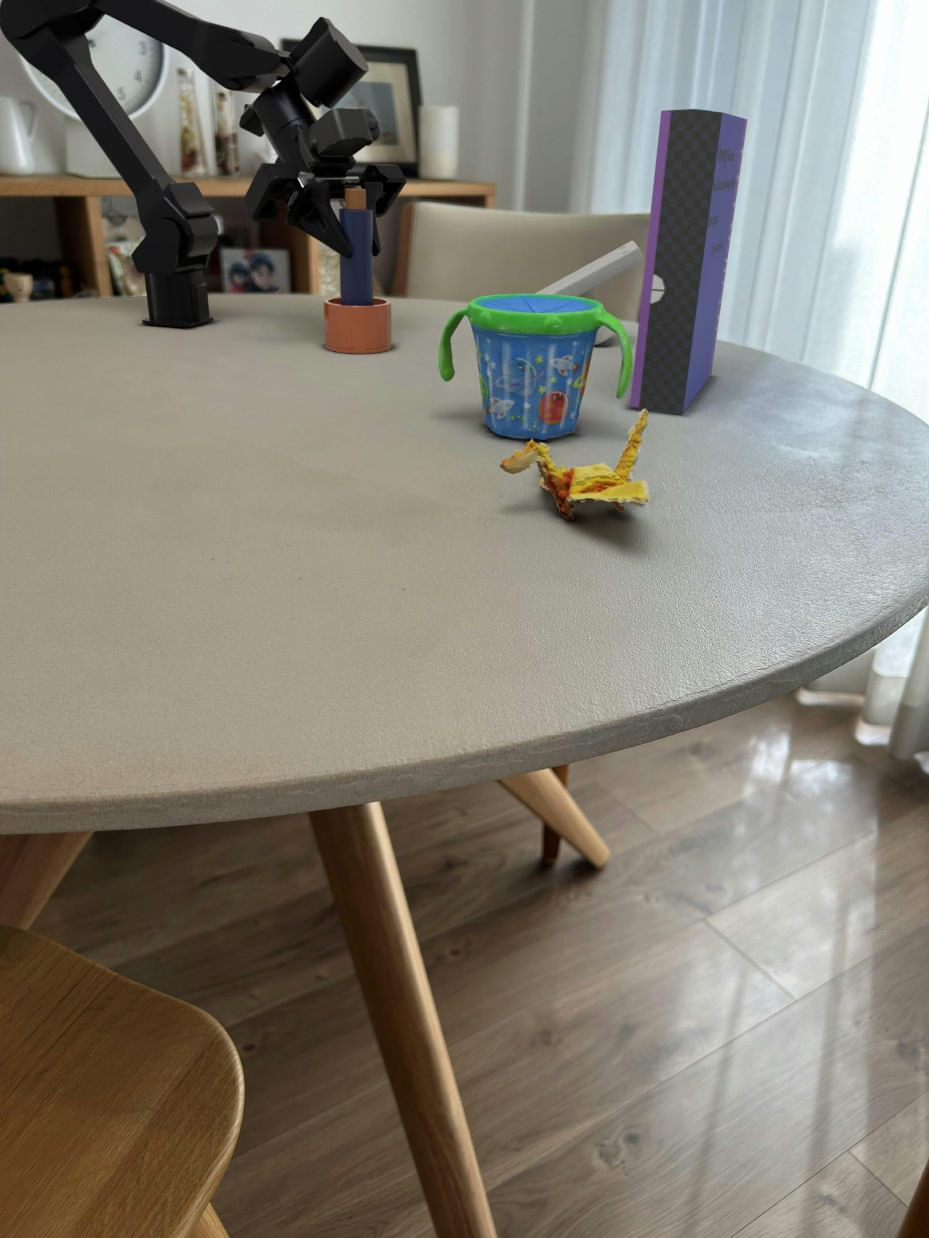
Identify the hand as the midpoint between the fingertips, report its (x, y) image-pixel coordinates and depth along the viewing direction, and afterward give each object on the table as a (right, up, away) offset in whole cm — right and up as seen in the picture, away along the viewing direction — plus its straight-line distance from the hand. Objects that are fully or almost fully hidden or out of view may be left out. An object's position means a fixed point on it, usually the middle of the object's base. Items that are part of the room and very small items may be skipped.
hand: (364, 255), depth 103 cm
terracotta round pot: (-1, -8, +5) cm, 10 cm away
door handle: (+22, -4, +16) cm, 27 cm away
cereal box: (+31, -17, -10) cm, 37 cm away
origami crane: (+19, -33, -42) cm, 56 cm away
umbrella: (-1, -5, +4) cm, 7 cm away
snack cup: (+16, -24, -24) cm, 38 cm away
